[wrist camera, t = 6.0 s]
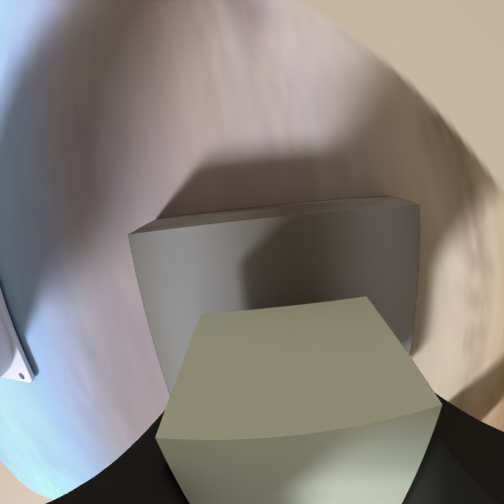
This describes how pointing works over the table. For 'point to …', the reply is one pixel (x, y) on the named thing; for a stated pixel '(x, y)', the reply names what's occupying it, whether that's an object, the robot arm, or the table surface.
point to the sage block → (297, 408)
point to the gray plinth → (276, 264)
